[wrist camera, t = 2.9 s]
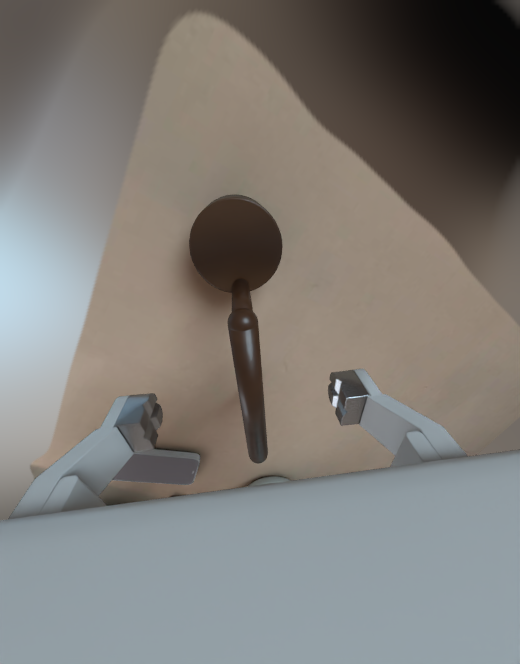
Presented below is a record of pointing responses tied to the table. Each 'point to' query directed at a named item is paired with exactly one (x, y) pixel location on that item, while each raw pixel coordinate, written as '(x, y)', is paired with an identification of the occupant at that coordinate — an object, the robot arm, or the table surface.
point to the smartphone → (160, 467)
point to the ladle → (240, 291)
